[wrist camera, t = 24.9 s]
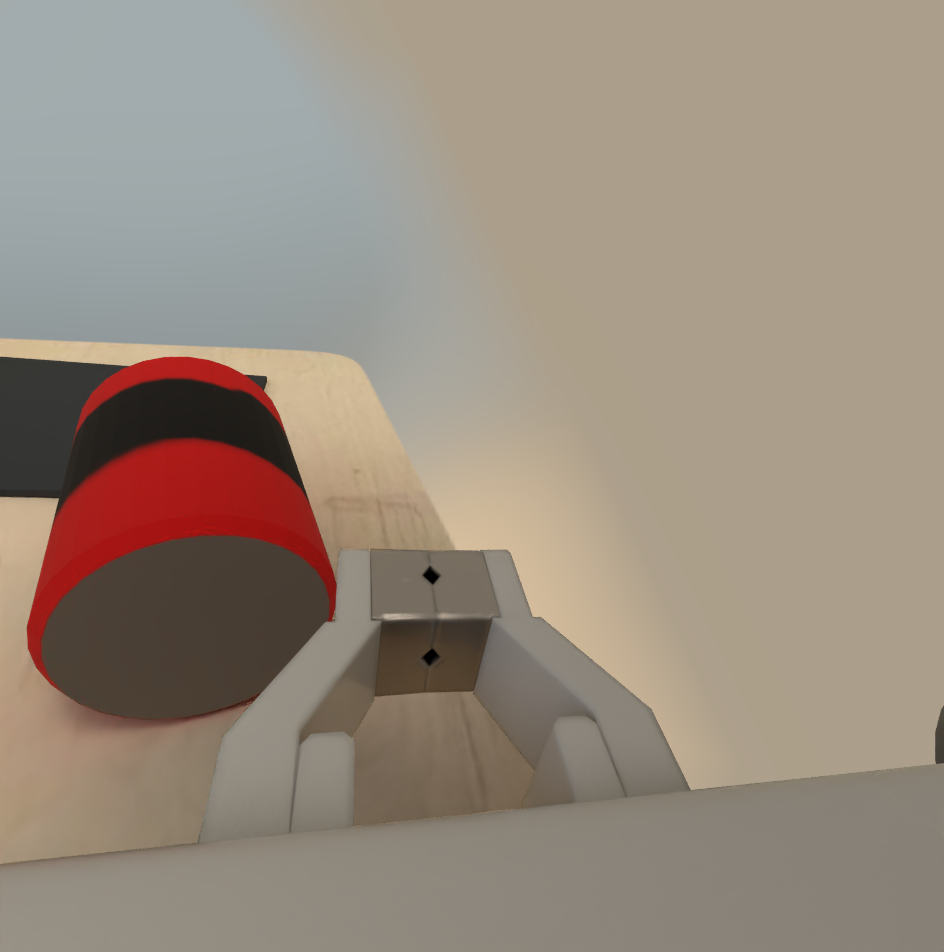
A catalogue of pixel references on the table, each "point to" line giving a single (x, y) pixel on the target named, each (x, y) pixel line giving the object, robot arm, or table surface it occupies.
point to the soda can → (178, 547)
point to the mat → (45, 420)
